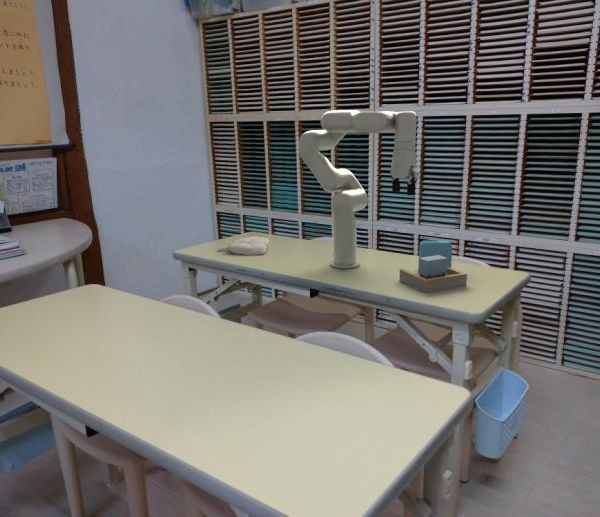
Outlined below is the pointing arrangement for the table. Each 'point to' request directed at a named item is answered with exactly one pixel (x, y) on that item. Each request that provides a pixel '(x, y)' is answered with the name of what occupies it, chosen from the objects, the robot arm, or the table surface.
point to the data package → (436, 250)
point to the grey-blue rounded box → (432, 266)
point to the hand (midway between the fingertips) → (403, 193)
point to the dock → (434, 280)
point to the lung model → (248, 246)
